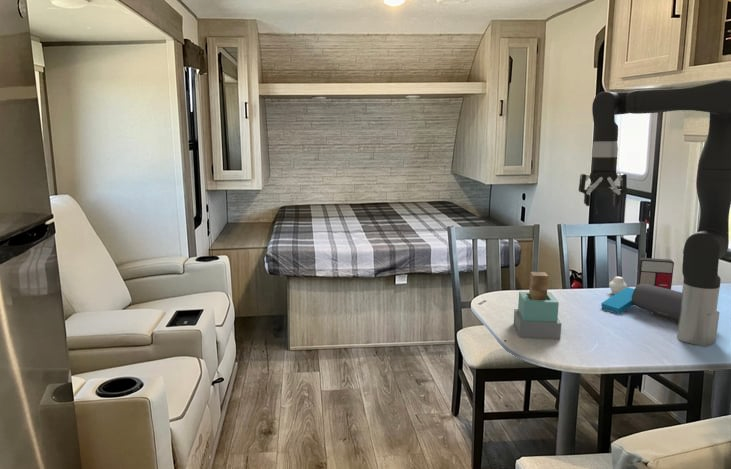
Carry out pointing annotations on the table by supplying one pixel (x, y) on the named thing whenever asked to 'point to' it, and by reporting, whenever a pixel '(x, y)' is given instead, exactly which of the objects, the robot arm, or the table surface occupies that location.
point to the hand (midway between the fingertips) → (601, 205)
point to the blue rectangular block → (619, 301)
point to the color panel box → (655, 272)
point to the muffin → (617, 285)
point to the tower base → (536, 328)
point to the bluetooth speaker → (658, 301)
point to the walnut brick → (538, 286)
